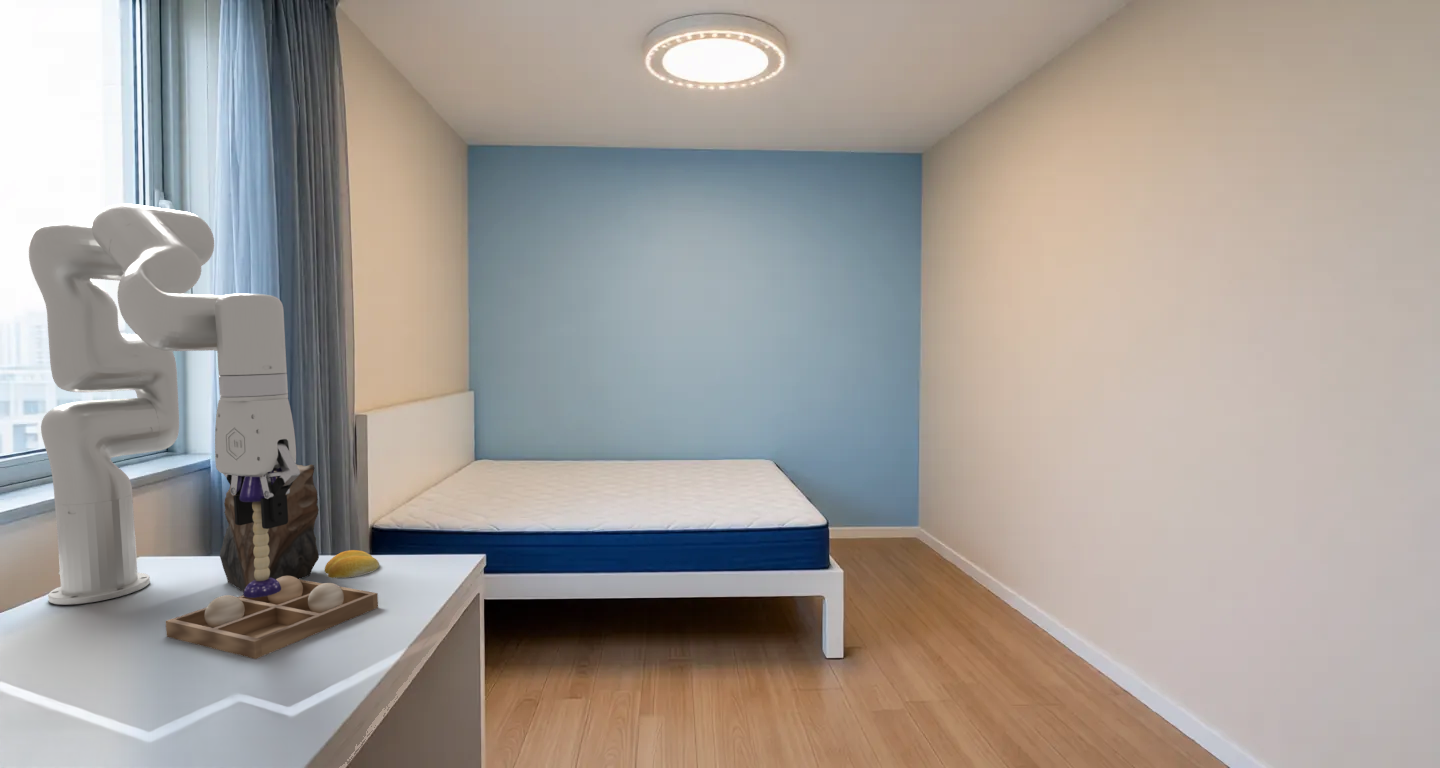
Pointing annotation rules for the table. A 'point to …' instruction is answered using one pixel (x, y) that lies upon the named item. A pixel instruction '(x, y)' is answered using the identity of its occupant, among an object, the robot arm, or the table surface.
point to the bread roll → (351, 564)
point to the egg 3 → (325, 597)
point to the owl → (275, 537)
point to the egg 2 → (286, 590)
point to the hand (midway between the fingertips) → (261, 523)
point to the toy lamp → (258, 541)
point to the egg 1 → (224, 610)
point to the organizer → (269, 623)
